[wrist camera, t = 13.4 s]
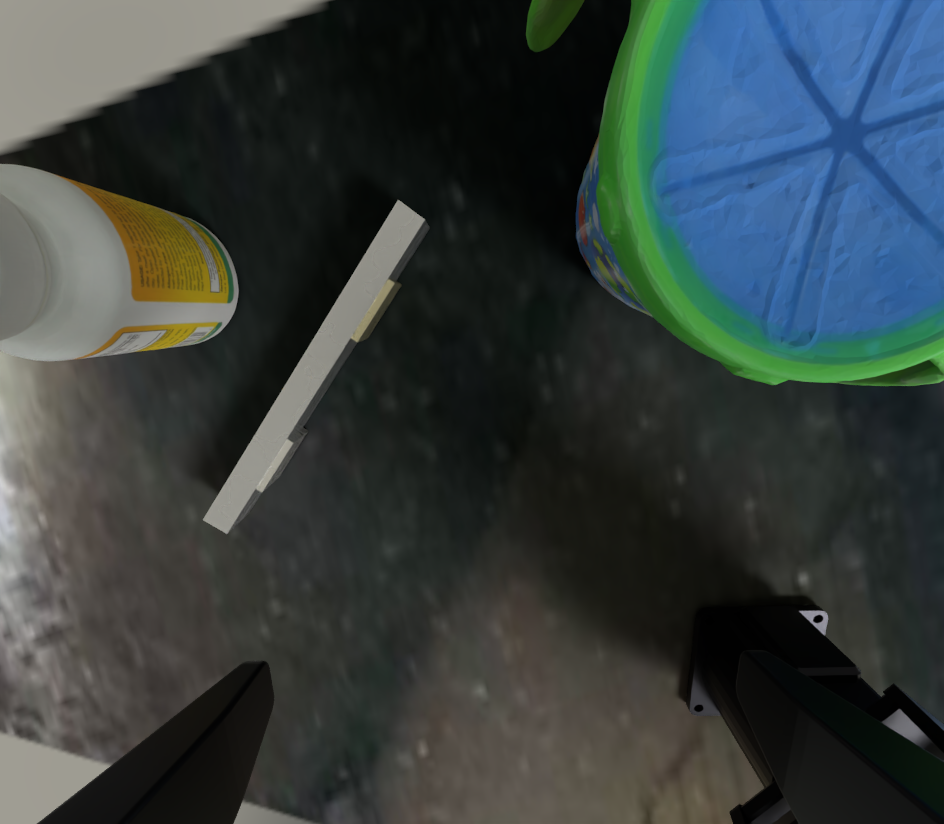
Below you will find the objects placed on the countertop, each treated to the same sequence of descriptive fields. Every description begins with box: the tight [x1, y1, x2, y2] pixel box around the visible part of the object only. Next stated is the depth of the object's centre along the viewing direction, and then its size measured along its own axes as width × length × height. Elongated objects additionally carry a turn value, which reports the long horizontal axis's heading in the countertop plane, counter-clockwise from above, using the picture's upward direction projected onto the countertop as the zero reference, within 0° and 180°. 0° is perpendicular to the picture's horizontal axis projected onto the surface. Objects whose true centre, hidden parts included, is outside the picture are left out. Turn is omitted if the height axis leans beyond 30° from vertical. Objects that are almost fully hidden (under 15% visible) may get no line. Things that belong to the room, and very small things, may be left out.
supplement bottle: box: [0, 164, 239, 361], centre depth 15 cm, size 5×5×10 cm
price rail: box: [203, 200, 430, 534], centre depth 19 cm, size 16×2×2 cm, turn 145°
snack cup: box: [526, 0, 944, 386], centre depth 14 cm, size 16×10×10 cm
